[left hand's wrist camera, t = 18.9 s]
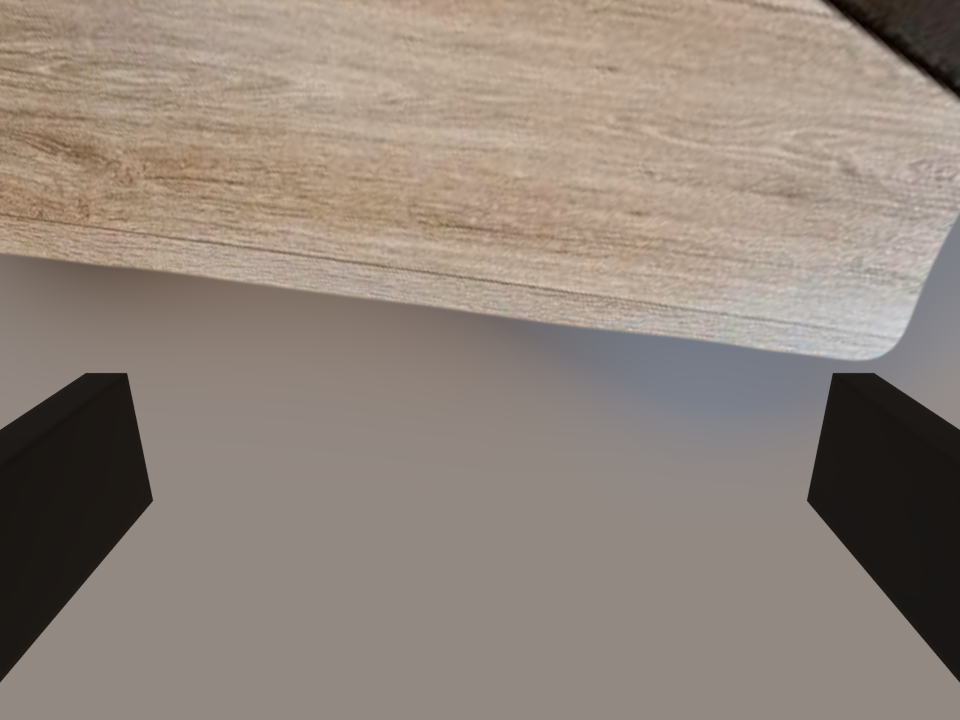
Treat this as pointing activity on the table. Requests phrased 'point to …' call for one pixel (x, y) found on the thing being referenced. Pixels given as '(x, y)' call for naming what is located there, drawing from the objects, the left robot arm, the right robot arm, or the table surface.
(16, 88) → the table surface
